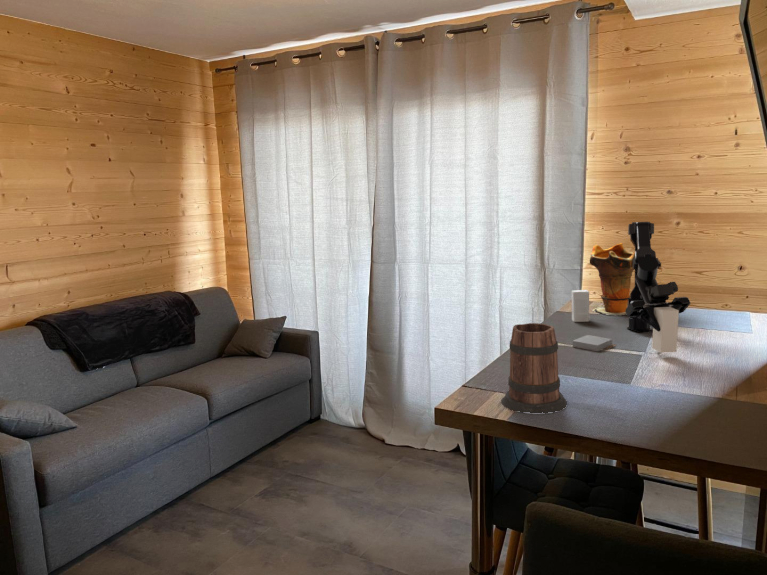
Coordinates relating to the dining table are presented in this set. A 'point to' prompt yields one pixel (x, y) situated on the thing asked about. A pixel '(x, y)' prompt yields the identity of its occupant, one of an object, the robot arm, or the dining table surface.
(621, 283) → the decorative vase
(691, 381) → the dining table surface
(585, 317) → the skincare box
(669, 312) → the tall block
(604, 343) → the tower top
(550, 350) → the tankard
